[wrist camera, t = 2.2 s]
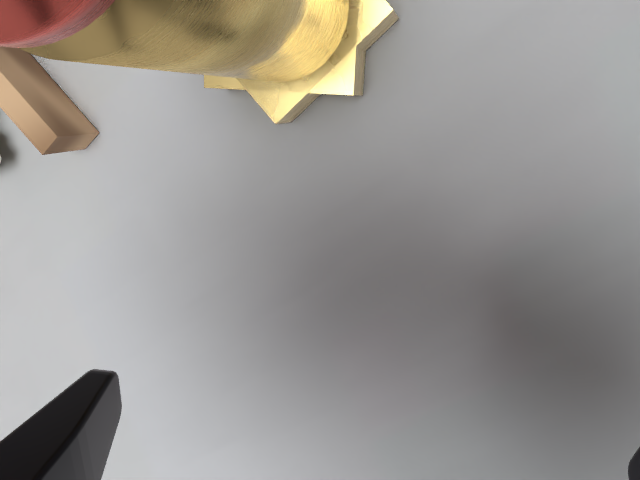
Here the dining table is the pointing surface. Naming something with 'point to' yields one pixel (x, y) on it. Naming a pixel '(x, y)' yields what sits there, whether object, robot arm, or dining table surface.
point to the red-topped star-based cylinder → (213, 41)
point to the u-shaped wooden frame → (40, 105)
